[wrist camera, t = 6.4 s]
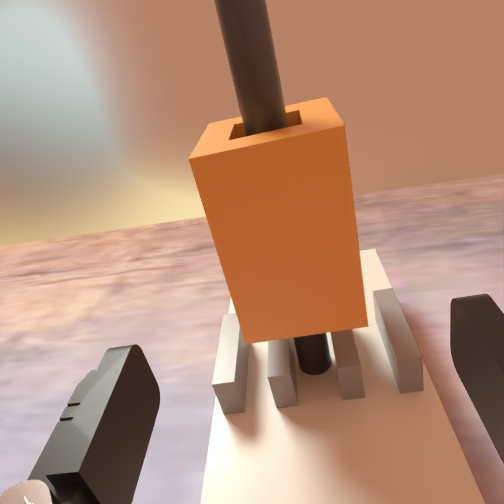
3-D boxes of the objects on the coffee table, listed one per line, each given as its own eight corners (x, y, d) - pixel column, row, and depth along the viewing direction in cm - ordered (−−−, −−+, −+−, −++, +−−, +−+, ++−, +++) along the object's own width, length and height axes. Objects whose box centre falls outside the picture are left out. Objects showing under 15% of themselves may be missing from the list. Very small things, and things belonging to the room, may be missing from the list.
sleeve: (245, 344, 17) (188, 159, 14) (251, 278, 22) (209, 123, 18) (368, 326, 17) (344, 125, 13) (348, 261, 21) (326, 97, 17)
